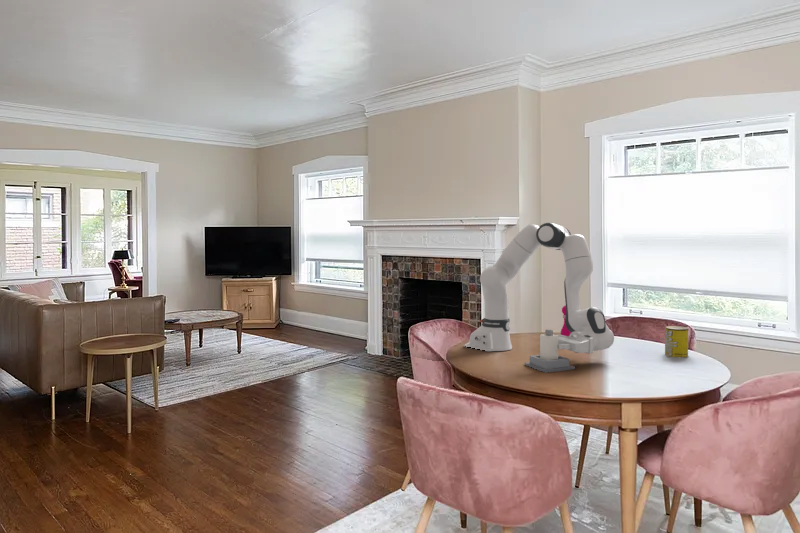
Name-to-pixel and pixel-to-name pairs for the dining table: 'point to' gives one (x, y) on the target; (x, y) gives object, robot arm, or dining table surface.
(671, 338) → the yellow tin can
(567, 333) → the pepper mill
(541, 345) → the spigot peg
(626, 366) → the dining table surface
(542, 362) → the socket dock
